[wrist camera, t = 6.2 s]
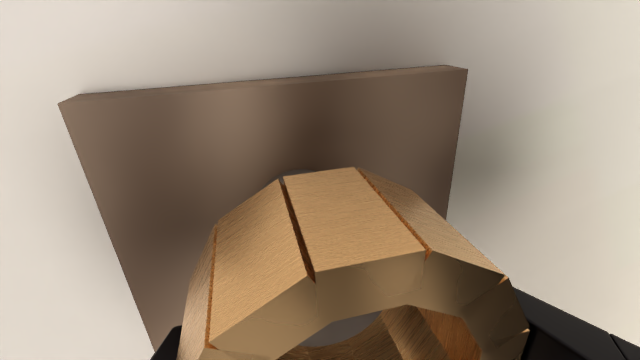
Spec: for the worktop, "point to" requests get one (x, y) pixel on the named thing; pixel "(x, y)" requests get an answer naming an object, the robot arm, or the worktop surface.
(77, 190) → the worktop surface
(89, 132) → the post board
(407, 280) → the wooden ring
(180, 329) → the robot arm
